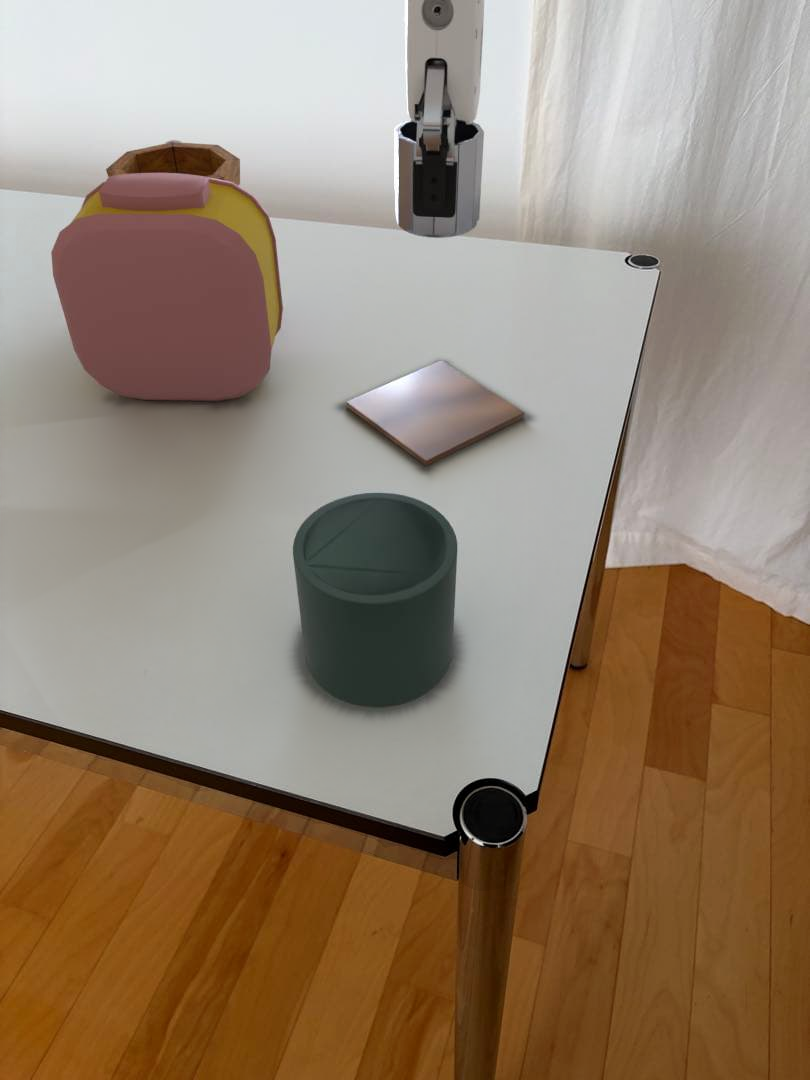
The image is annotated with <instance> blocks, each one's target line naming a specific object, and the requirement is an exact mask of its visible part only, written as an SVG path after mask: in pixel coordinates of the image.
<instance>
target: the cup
mask: <svg viewBox="0 0 810 1080" xmlns="http://www.w3.org/2000/svg"><path fill="white" fill-rule="evenodd" d="M443 117H447V116H443ZM447 132H448V129H445V128H442V134H446V138H447ZM416 137H417V122H416V123H415V122H414V121H412V120H411V119H408V120H405V121H402V122H401V123H400V124H399V125H397V126H396V127H395V128H394V195H395V196H394V206H395V207H394V214H395V218H396V219H395V220H396V224H397V226H398V227H399V228H400V229H402V230H403V231H404V232H407V233H409V234H411V235H415V236H417V237H418V236H419V237H424V238H433V239H434V238H437V239H440V238H441V239H442V238H443V239H444V238H452V237H458V236H462V235H465V234H467V233H469V232H471V231H472V230H474V229H475V228H476V227H477V225H478V224H479V221H480V213H481V195H482V191H481V190H482V177H483V161H484V160H483V159H484V142H485V141H484V140H485V131H484V129H483V128H482V127H481V125H480V124H479V123H477V122H474V121H473V122H472V123H471V124H466V120H457V118H456V131H455V148H454V162H457V187H456V211H455V215H454V216H453V217H452V218H443V217H420V216H416V215H415V214H414V213H413V162H414V160H416ZM446 149H447V148H446Z"/></svg>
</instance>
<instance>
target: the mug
mask: <svg viewBox="0 0 810 1080" xmlns="http://www.w3.org/2000/svg"><path fill="white" fill-rule="evenodd" d="M105 172H106V174H107V178H108V177H109V176H113V175H123V174H136V173H178V174H191V175H198V176H205V177H206V178H214V179H219V180H224V181H229V182H233V183H235V184H236V185H238V186H239V187H241V159H240V158H239V157H238V156H236V155H235V154H233V153H231V152H229V150H227V149H225V148H223V147H222V146H221V145H219V144H212V143H211V144H210V143H195V142H194V143H193V142H183V141H181V140H177V139H171V140H168V141H166V142H165V143H162V144H157V145H152V146H148V147H143V148H138V149H132V150H127V151H126V152H124V153H123V154H121V156H119V157H118V158H117V159H116V160H115V161H113V163H112V164H111V165H109V166H108V167H107V168H106V169H105Z"/></svg>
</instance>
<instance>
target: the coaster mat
mask: <svg viewBox="0 0 810 1080" xmlns="http://www.w3.org/2000/svg"><path fill="white" fill-rule="evenodd" d="M345 406H346V408H347V409H348V410H350V411H351V412H353V413H354V414H355V415H357V416H358V417H359V418H360V419H362V420H363V421H365V422H366V423H368V425H370V426H372V428H374V429H375V430H377V431H378V432H379V433H381V434H382V435H383V436H385V437H386V438H387V439H390V440H391V441H392V442H393V443H394V444H396V445H397V446H398V447H400V448H401V449H402V450H404V451H405V452H407V453H408V454H409V455H411V456H412V457H413V458H415V459H416V461H419V462H420V463H421V464H422V465H424V466H425V467H428V466H429V465H432V464H434V463H436V462H438V461H439V460H442V459H443V458H445V457H448V456H450V455H451V454H454V453H455V452H457V451H459V450H461V449H463V448H465V447H467V446H469V445H471V444H473V443H475V442H477V441H479V440H481V439H484V438H486V437H488V436H489V435H491V434H494V433H496V432H498V431H499V430H502V429H504V428H505V427H507V426H509V425H511V424H514V423H515V422H518V421H519V420H521V419H523V418H524V417H525V412H524V411H523V410H521V409H520V408H519V407H517V406H515V405H514V404H512V403H510V402H509V401H507V400H506V399H504V398H502V397H501V396H500V395H498V394H497V393H495V392H493V391H491V390H490V389H488V388H487V387H485V386H483V385H482V384H481V383H479V382H478V381H475V380H474V379H473V378H471V377H469V376H468V375H466V374H464V373H463V372H461V371H459V370H458V369H456V368H455V367H454V366H452V365H450V364H448V363H447V362H445V361H444V360H439V361H437V362H434V363H432V364H430V365H427V366H425V367H423V368H420V369H418V370H416V371H413V372H411V373H409V374H407V375H404V376H402V377H400V378H397V379H395V380H393V381H391V382H389V383H386V384H384V385H381V386H379V387H377V388H374V389H372V390H370V391H368V392H365V393H363V394H361V395H358V396H356V397H354V398H351V399H349V400H347V401H345Z"/></svg>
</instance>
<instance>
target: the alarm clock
mask: <svg viewBox="0 0 810 1080" xmlns="http://www.w3.org/2000/svg"><path fill="white" fill-rule="evenodd" d="M277 248H278V247H277V239H276V236H275V232H274V230H273V226H272V222H271V220H270V215H269V214H268V212H267V211H266V209H265V208H264V207H263V206H262V205H261V203H260V201H258V198H256V197H255V195H254V194H252V193H250V192H249V191H248V190H245V188H243V187H241V186H240V187H239V186H238V185H236V184H235V183H233V182H229V181H224V180H219V179H214V178H206V177H205V176H198V175H191V174H178V173H136V174H123V175H113V176H109V177H108V176H107V179H106V180H105V181H102V182H101V183H100V184H99V185H97V187H95V188H94V189H93V190H91V191H90V192H88V194H86V195H85V197H84V200H83V202H82V205H81V207H80V209H79V211H78V212H77V214H76V215H75V217H74V218H73V219H72V221H71V222H70V223H69V224H68V225H66V226H65V227H64V228H63V229H61V230H60V231H59V232H58V235H57V237H56V240H55V242H54V245H53V246H52V249H51V252H50V253H51V254H50V255H51V264H52V265H51V267H52V277H53V281H54V284H55V288H56V291H57V295H58V298H59V303H60V305H61V309H62V312H63V315H64V319H65V322H66V326H67V329H68V334H69V336H70V340H71V344H72V347H73V350H74V353H75V354H76V357H77V358H78V360H79V362H80V364H81V366H82V368H83V370H84V371H85V372H86V373H87V374H88V375H89V376H90V377H91V378H93V380H94V381H95V382H96V383H97V384H99V385H100V386H101V387H103V388H105V389H107V390H109V391H111V392H113V393H114V394H116V395H118V396H120V397H126V398H130V399H131V398H132V399H136V400H137V399H138V400H143V401H202V402H203V401H204V402H205V401H207V402H212V401H213V402H218V401H225V400H231V399H238V398H240V397H243V396H244V395H246V394H248V393H249V392H251V391H253V390H254V389H256V388H258V387H259V386H260V385H261V383H262V382H263V380H264V379H265V378H266V376H267V374H268V372H269V371H270V369H271V359H272V350H273V346H274V342H275V339H276V337H277V335H278V333H279V331H280V330H281V328H282V320H283V311H284V305H283V297H282V287H281V286H282V285H281V278H280V277H281V276H280V266H279V258H278V250H277Z"/></svg>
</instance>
